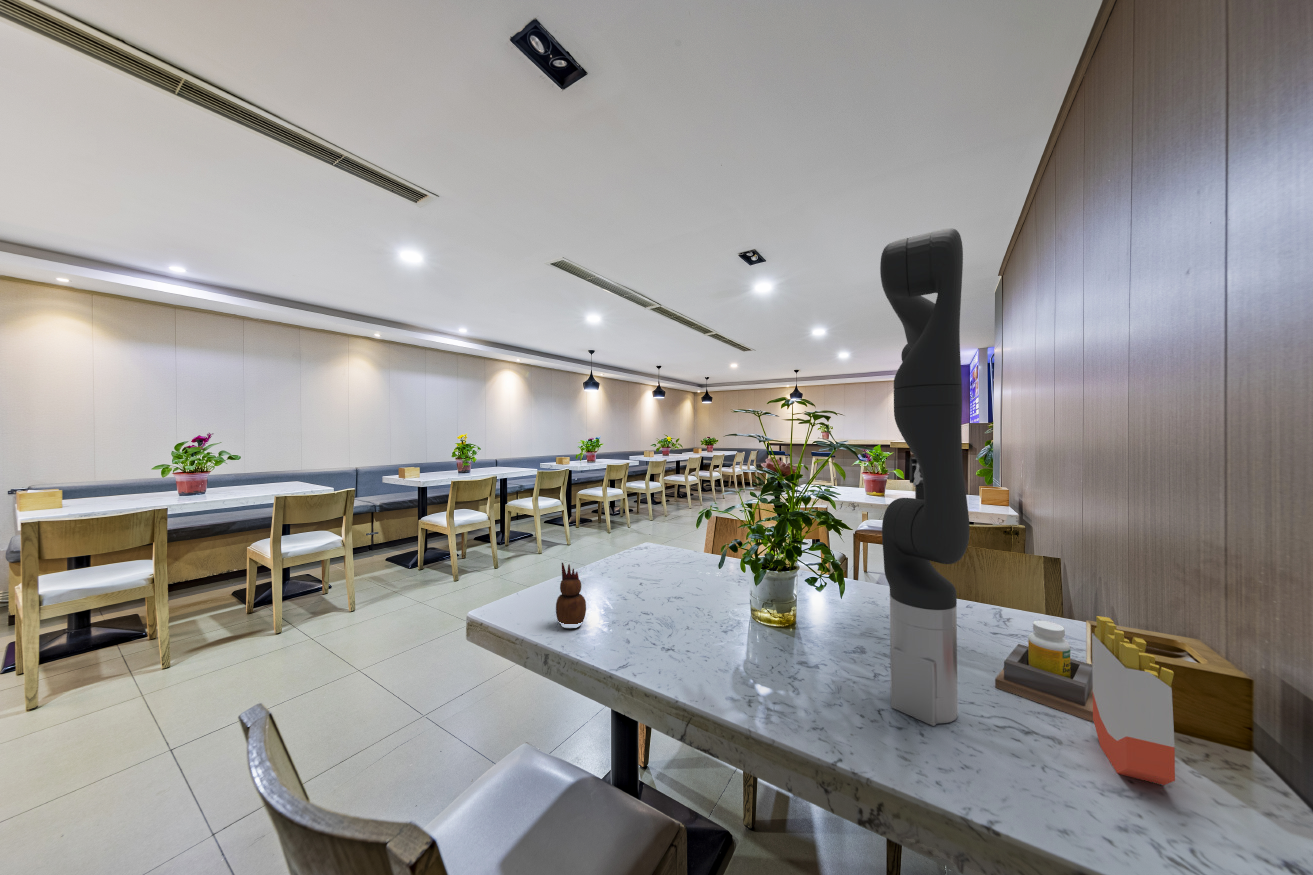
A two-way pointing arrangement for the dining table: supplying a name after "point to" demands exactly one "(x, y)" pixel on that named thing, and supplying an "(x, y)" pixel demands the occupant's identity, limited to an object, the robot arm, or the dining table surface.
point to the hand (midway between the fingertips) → (931, 506)
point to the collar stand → (1049, 684)
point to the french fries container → (1132, 706)
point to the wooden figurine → (570, 599)
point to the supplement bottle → (1049, 648)
